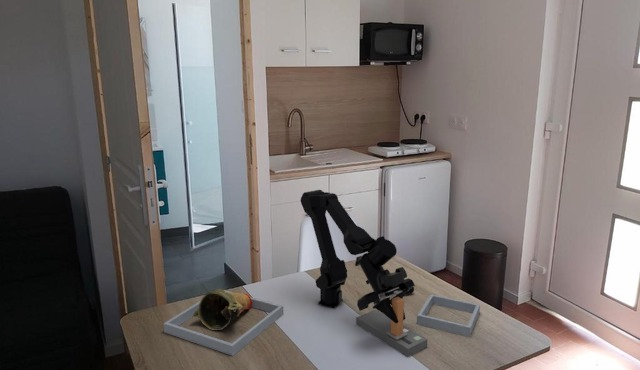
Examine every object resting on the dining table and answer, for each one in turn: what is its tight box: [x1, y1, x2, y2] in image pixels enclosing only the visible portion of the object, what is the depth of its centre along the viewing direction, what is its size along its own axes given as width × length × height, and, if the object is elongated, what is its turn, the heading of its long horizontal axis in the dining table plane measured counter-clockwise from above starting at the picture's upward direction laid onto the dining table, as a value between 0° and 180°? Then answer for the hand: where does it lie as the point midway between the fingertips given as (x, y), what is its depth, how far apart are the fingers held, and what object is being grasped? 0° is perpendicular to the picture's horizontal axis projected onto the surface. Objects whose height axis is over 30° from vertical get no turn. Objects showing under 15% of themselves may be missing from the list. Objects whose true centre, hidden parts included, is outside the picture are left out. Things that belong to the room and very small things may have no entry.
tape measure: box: [403, 278, 415, 296], centre depth 167 cm, size 7×7×4 cm
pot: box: [193, 288, 252, 331], centre depth 149 cm, size 18×12×19 cm
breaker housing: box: [355, 309, 429, 358], centre depth 140 cm, size 22×8×3 cm, turn 37°
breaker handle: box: [386, 297, 408, 340], centre depth 134 cm, size 4×4×11 cm
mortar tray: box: [163, 288, 284, 357], centre depth 147 cm, size 26×26×3 cm
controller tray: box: [416, 293, 481, 338], centre depth 149 cm, size 16×16×3 cm
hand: (400, 321), depth 133 cm, fingers closed on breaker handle, 2 cm apart
